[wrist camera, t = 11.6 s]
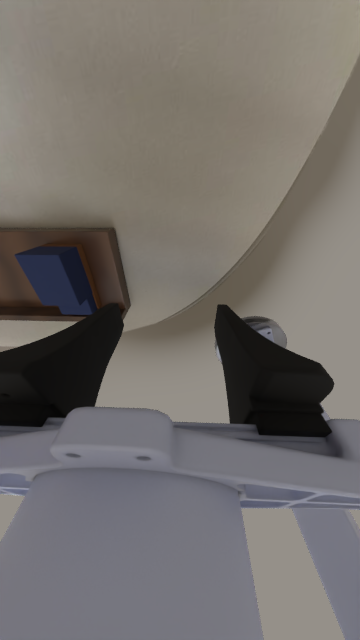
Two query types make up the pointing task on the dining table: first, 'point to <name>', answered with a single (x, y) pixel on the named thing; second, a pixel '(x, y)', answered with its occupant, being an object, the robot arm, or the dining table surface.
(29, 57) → the dining table surface
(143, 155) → the dining table surface
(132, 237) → the dining table surface
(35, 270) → the navy block wooden base
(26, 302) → the shelf
